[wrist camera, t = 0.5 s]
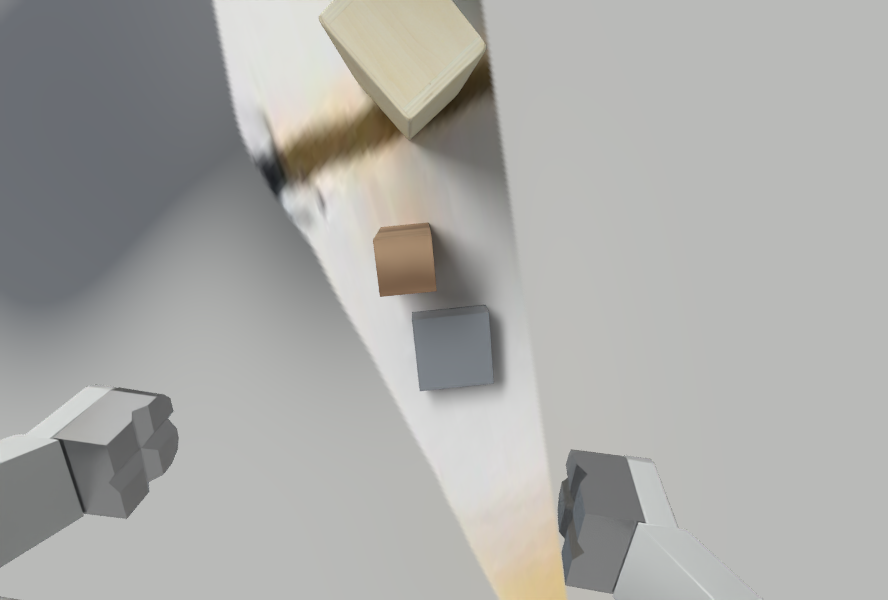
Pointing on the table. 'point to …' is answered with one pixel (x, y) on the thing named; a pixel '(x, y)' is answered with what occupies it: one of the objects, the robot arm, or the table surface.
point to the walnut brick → (404, 259)
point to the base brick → (453, 347)
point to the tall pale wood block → (405, 54)
